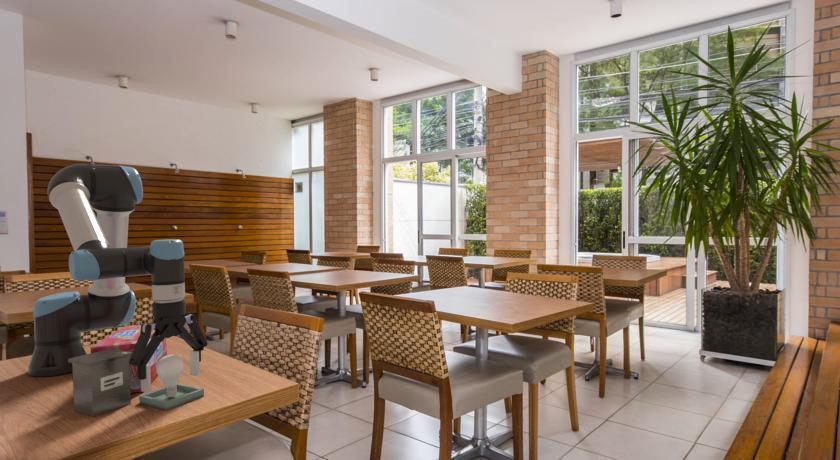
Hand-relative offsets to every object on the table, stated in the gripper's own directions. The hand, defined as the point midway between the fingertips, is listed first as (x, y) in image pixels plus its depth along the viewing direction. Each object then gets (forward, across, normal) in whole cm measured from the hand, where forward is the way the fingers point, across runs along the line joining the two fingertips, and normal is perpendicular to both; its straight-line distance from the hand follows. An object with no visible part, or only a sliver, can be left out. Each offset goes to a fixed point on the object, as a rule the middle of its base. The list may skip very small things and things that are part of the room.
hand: (171, 383), depth 127 cm
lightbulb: (+4, 0, 0) cm, 4 cm away
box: (+5, +5, +25) cm, 26 cm away
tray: (+4, 0, 0) cm, 4 cm away
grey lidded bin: (+4, -11, +11) cm, 16 cm away
